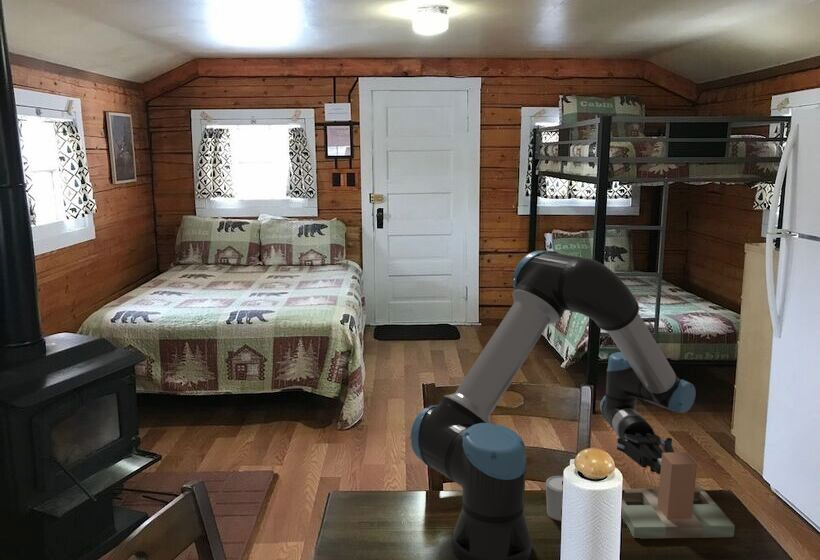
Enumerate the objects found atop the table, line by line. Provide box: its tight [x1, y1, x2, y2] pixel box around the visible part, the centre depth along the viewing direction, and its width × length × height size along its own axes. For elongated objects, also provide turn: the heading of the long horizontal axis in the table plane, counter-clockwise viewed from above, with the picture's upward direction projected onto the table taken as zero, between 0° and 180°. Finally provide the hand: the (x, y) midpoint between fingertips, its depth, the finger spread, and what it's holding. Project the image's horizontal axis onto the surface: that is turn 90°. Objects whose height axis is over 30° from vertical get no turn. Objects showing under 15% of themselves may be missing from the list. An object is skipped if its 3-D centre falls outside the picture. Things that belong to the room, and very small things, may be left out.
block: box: [657, 451, 698, 519], centre depth 138 cm, size 5×5×12 cm
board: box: [621, 487, 736, 539], centre depth 141 cm, size 14×20×2 cm
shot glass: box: [545, 475, 564, 522], centre depth 142 cm, size 7×7×7 cm
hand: (672, 479), depth 140 cm, fingers closed
